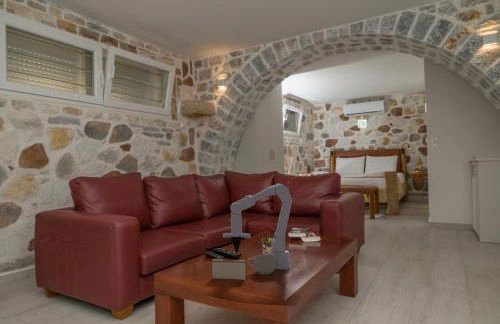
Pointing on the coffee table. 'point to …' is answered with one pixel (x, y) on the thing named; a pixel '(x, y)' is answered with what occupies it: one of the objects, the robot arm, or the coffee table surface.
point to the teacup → (263, 264)
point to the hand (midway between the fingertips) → (236, 251)
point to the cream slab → (228, 269)
